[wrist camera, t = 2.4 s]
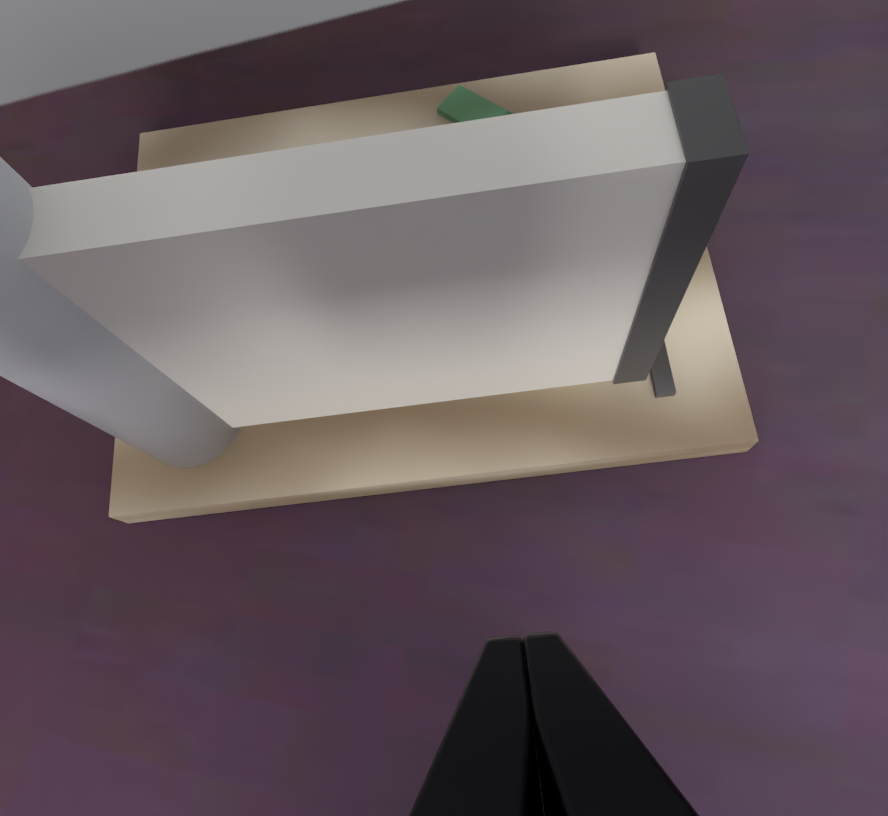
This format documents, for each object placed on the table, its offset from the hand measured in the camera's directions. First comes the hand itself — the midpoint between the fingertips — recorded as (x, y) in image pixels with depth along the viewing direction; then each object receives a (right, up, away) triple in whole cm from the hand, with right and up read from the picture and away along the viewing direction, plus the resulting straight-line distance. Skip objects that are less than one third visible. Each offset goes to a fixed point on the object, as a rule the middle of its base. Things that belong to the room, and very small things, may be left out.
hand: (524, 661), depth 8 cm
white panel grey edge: (-3, +4, +14) cm, 15 cm away
